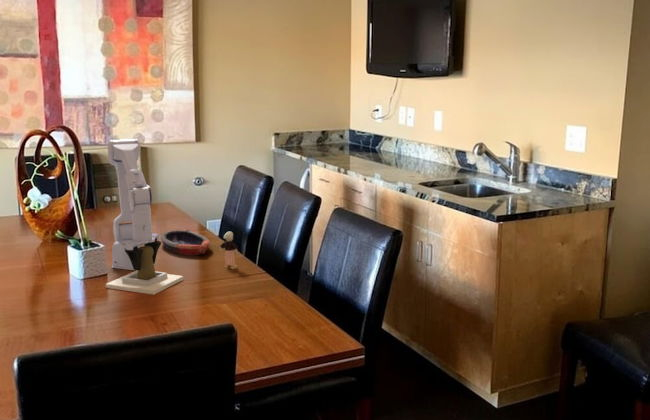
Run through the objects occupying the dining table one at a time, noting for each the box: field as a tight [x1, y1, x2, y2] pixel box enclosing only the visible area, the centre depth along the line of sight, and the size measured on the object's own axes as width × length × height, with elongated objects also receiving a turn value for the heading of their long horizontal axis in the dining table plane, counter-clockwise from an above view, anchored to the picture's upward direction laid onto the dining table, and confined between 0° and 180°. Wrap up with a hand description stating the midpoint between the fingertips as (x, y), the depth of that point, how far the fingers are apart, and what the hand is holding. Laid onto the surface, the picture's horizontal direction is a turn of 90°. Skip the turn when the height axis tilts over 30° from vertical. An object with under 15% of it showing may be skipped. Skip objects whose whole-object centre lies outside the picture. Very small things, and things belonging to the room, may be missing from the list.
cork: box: [137, 245, 156, 280], centre depth 215 cm, size 6×6×11 cm
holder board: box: [105, 270, 184, 295], centre depth 216 cm, size 18×16×3 cm
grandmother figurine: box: [219, 231, 239, 270], centre depth 233 cm, size 8×4×13 cm, turn 71°
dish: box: [160, 229, 211, 256], centre depth 258 cm, size 16×31×5 cm, turn 32°
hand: (144, 266), depth 215 cm, fingers open, 7 cm apart
